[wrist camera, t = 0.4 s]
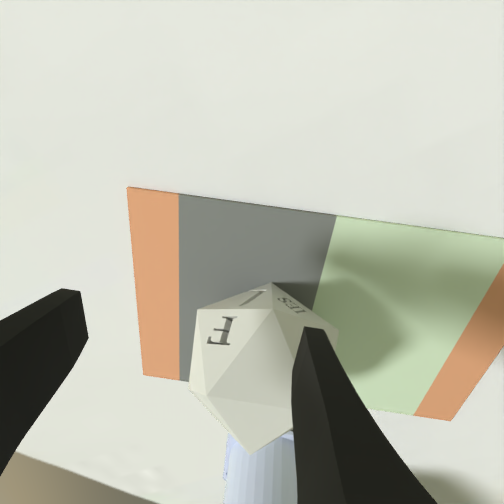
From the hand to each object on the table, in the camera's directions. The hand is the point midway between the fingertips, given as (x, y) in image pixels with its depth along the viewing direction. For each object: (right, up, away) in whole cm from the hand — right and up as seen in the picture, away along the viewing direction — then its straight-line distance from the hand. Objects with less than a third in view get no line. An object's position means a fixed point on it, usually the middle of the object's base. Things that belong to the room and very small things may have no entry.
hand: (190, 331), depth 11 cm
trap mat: (+6, -2, +12) cm, 14 cm away
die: (+3, -2, +12) cm, 13 cm away
